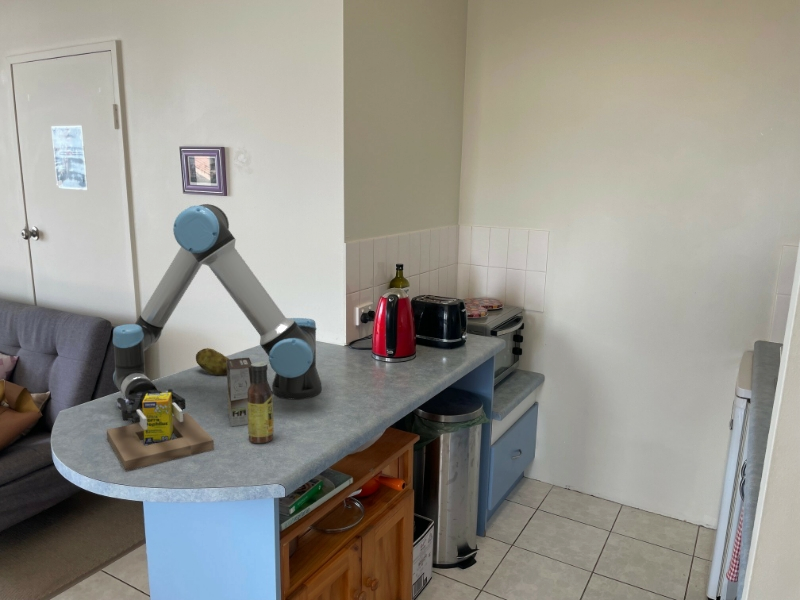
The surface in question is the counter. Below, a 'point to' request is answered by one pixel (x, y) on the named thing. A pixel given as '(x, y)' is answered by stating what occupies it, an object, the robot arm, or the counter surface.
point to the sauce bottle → (260, 405)
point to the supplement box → (158, 417)
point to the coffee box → (238, 389)
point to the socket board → (137, 455)
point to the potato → (212, 361)
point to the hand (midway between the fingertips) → (163, 420)
